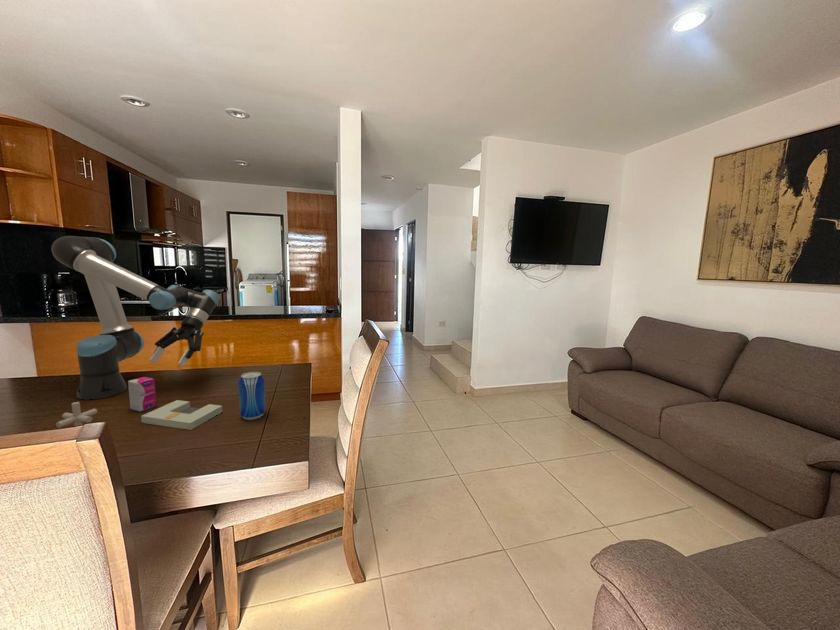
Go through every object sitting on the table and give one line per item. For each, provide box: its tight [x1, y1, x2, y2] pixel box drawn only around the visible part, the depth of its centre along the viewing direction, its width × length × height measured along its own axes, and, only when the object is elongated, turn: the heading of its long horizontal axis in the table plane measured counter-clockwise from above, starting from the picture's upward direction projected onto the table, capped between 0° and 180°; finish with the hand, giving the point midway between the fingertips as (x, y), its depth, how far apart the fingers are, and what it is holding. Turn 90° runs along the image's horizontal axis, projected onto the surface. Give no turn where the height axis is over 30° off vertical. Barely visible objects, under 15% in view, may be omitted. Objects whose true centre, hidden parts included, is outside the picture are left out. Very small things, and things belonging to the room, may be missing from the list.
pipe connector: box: [55, 401, 98, 429], centre depth 108 cm, size 10×10×10 cm
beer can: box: [238, 371, 266, 421], centre depth 123 cm, size 8×8×16 cm
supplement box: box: [127, 376, 157, 413], centre depth 126 cm, size 6×6×12 cm
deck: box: [140, 399, 223, 431], centre depth 121 cm, size 14×20×3 cm
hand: (166, 363), depth 135 cm, fingers open, 13 cm apart
